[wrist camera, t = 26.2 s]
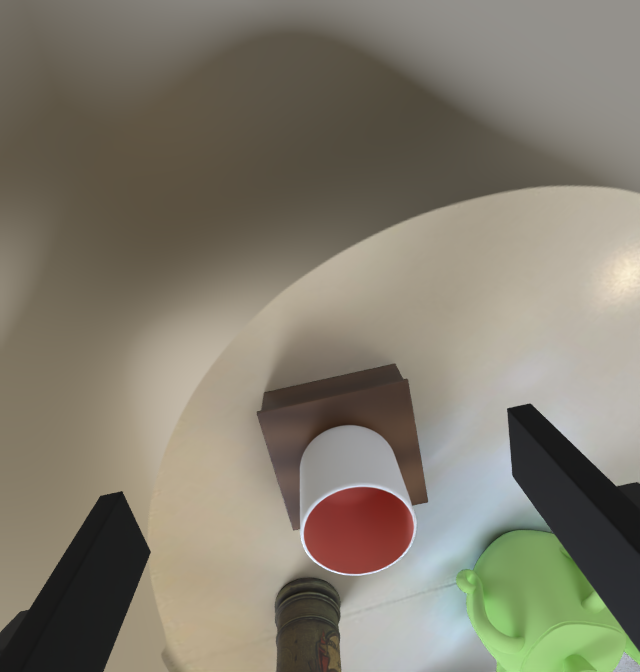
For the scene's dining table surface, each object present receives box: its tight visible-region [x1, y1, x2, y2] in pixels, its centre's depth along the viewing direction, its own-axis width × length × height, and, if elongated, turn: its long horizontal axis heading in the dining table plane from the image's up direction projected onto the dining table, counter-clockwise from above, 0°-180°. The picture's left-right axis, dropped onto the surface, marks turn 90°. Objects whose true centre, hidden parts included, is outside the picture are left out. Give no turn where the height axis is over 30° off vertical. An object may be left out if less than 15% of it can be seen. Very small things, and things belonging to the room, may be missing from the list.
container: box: [275, 578, 341, 672], centre depth 51 cm, size 9×9×18 cm
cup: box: [300, 425, 417, 576], centre depth 41 cm, size 10×10×10 cm
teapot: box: [456, 530, 640, 672], centre depth 53 cm, size 19×20×14 cm
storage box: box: [257, 364, 428, 530], centre depth 48 cm, size 16×16×5 cm
